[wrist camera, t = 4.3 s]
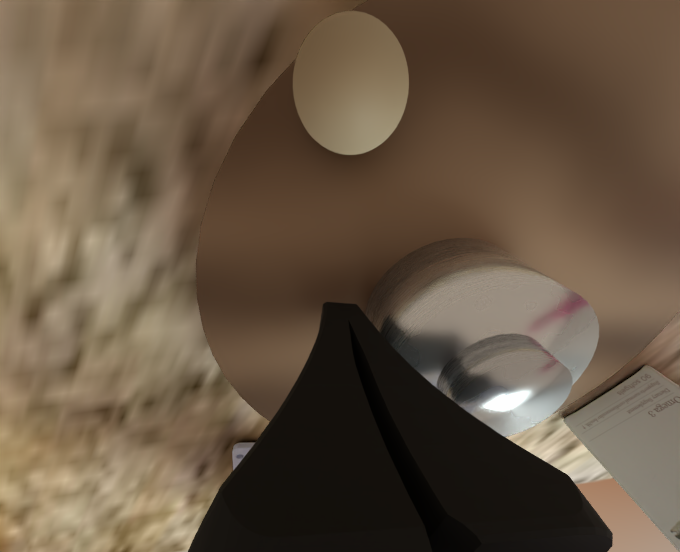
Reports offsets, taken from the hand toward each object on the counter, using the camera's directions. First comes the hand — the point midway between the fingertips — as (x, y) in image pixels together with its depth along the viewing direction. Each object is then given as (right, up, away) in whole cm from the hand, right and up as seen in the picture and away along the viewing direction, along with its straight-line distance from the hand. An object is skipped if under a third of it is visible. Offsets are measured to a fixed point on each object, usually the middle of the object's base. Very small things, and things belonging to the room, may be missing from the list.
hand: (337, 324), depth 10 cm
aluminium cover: (+5, 0, +2) cm, 5 cm away
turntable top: (+6, +1, +4) cm, 7 cm away
